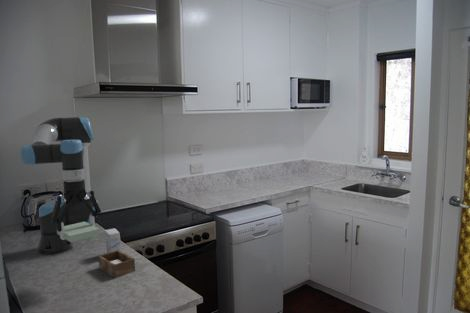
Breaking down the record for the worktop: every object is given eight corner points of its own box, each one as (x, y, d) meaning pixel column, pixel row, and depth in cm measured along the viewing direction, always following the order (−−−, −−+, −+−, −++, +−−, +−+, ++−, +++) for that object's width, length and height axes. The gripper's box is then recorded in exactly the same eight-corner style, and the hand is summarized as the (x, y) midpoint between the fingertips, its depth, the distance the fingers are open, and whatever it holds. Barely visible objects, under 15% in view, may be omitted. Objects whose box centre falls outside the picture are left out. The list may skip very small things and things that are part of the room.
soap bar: (109, 268, 152) (108, 261, 151) (118, 265, 155) (117, 259, 154) (115, 273, 148) (115, 266, 147) (124, 269, 150) (124, 263, 150)
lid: (57, 236, 142) (56, 227, 141) (85, 229, 149) (84, 221, 149) (70, 244, 132) (70, 236, 131) (99, 237, 139) (99, 228, 139)
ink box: (122, 257, 166) (120, 232, 164) (111, 259, 163) (109, 234, 162) (117, 251, 173) (115, 227, 172) (106, 253, 170) (104, 229, 169)
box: (99, 269, 153) (98, 256, 152) (119, 263, 159) (118, 250, 158) (114, 280, 143) (113, 265, 142) (135, 272, 149) (134, 258, 149)
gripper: (44, 186, 127) (49, 245, 130) (107, 176, 143) (111, 229, 146) (37, 183, 132) (42, 240, 135) (99, 174, 149) (102, 226, 151)
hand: (78, 235), depth 140 cm, fingers closed on lid, 11 cm apart
